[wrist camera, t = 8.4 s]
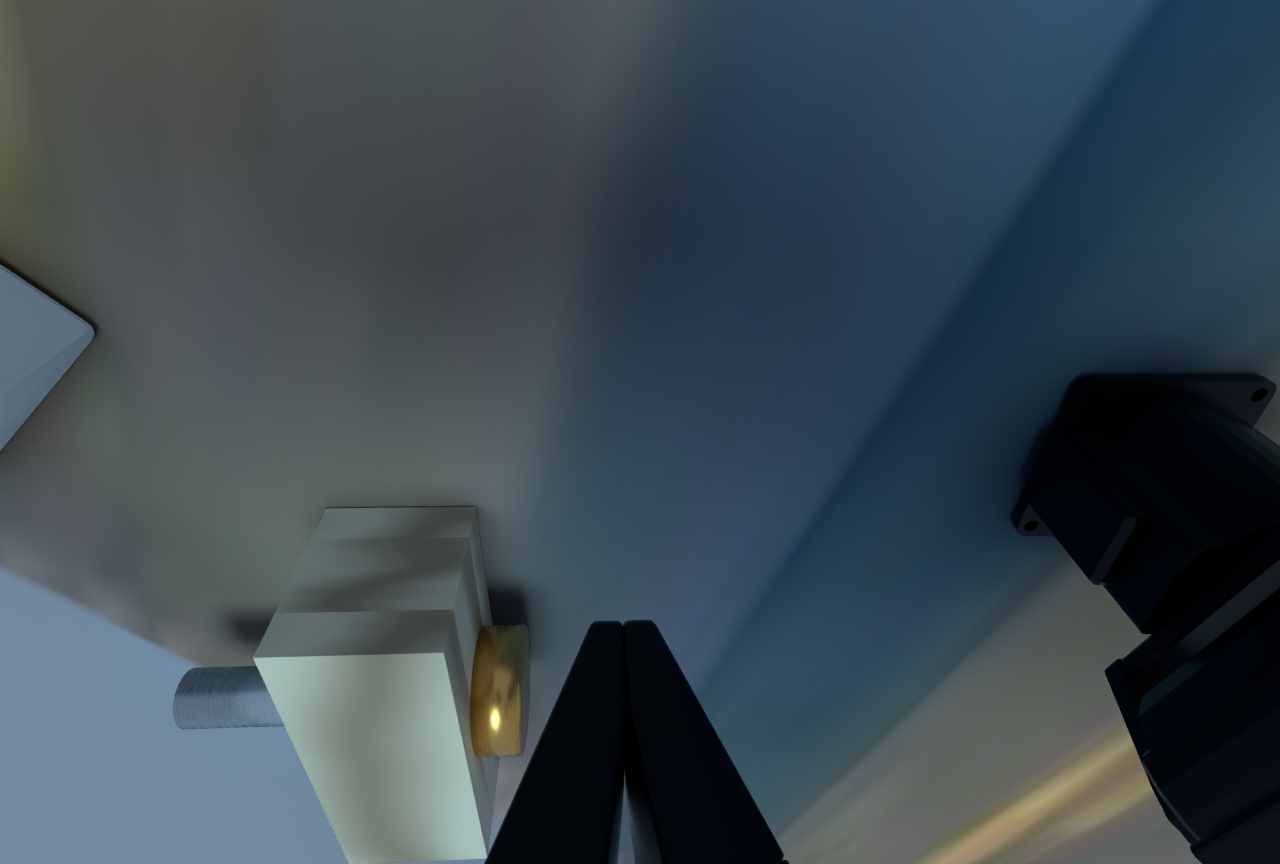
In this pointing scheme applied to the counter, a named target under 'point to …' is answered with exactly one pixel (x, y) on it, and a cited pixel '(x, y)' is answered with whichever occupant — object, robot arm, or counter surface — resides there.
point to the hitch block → (387, 680)
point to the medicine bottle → (33, 348)
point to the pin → (493, 698)
